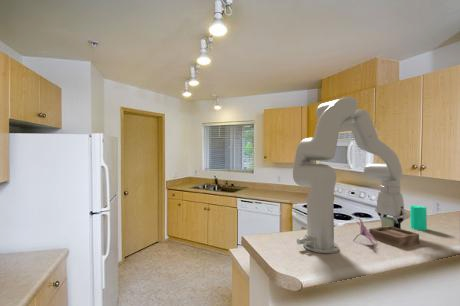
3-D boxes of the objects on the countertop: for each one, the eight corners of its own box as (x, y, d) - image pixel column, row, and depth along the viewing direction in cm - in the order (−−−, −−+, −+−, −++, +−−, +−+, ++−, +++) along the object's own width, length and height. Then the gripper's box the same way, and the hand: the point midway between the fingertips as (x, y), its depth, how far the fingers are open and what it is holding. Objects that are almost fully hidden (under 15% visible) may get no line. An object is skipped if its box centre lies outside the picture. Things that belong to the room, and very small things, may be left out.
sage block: (392, 233, 104) (392, 220, 104) (381, 230, 109) (381, 217, 109) (400, 232, 106) (400, 218, 106) (389, 229, 111) (389, 216, 111)
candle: (429, 230, 108) (429, 204, 108) (415, 230, 109) (415, 204, 109) (421, 226, 114) (421, 202, 114) (407, 226, 115) (407, 201, 115)
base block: (398, 248, 89) (398, 238, 89) (369, 238, 100) (369, 228, 100) (419, 244, 93) (418, 234, 93) (389, 234, 104) (389, 225, 104)
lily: (362, 253, 86) (377, 231, 85) (337, 232, 96) (349, 212, 95) (377, 255, 93) (390, 235, 91) (351, 235, 103) (363, 217, 101)
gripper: (367, 188, 114) (368, 225, 114) (404, 193, 98) (404, 236, 98) (378, 187, 117) (379, 223, 117) (415, 192, 101) (416, 234, 101)
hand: (390, 229), depth 107 cm, fingers closed on sage block, 5 cm apart
